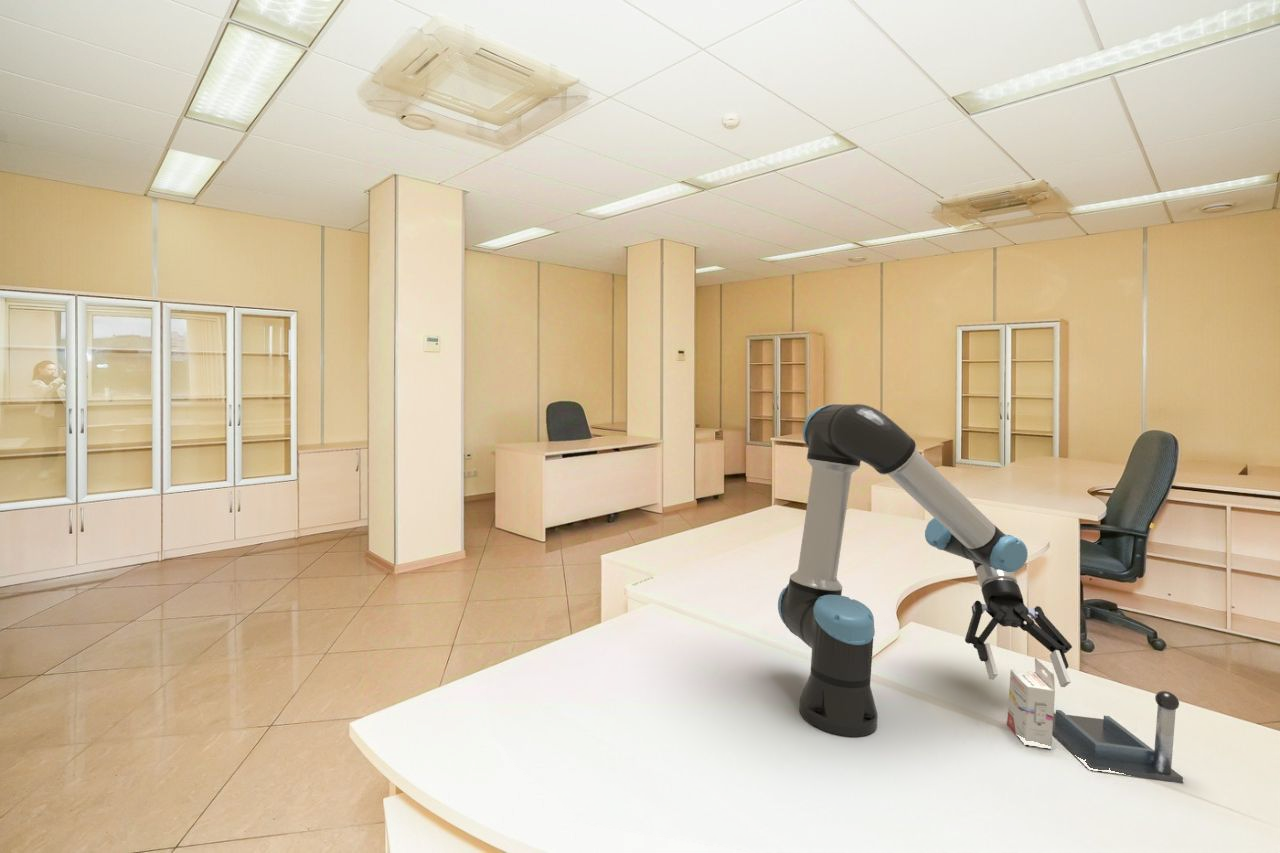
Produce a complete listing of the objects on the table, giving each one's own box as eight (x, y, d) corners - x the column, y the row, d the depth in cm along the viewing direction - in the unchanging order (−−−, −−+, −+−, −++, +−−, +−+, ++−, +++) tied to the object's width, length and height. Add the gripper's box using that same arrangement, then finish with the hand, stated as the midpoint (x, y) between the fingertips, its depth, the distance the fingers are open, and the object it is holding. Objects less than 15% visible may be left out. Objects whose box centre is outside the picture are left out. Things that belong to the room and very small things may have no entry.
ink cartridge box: (1005, 723, 120) (1009, 653, 120) (1031, 727, 119) (1036, 656, 119) (1023, 746, 111) (1028, 670, 111) (1052, 750, 110) (1057, 674, 110)
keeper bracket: (1089, 770, 104) (1095, 687, 104) (1031, 715, 124) (1036, 645, 124) (1182, 783, 102) (1189, 698, 102) (1108, 724, 122) (1113, 653, 122)
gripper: (1050, 599, 133) (1087, 694, 119) (936, 589, 137) (958, 680, 122) (1066, 583, 128) (1106, 680, 113) (946, 573, 131) (970, 666, 117)
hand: (1029, 680), depth 118 cm, fingers open, 13 cm apart
